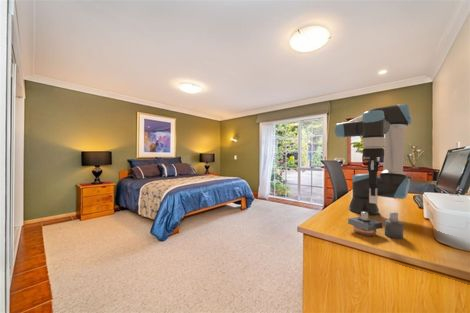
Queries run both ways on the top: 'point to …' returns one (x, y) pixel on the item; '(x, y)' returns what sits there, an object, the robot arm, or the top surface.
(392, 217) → the stand
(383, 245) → the top surface
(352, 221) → the hollow square frame
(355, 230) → the hub
